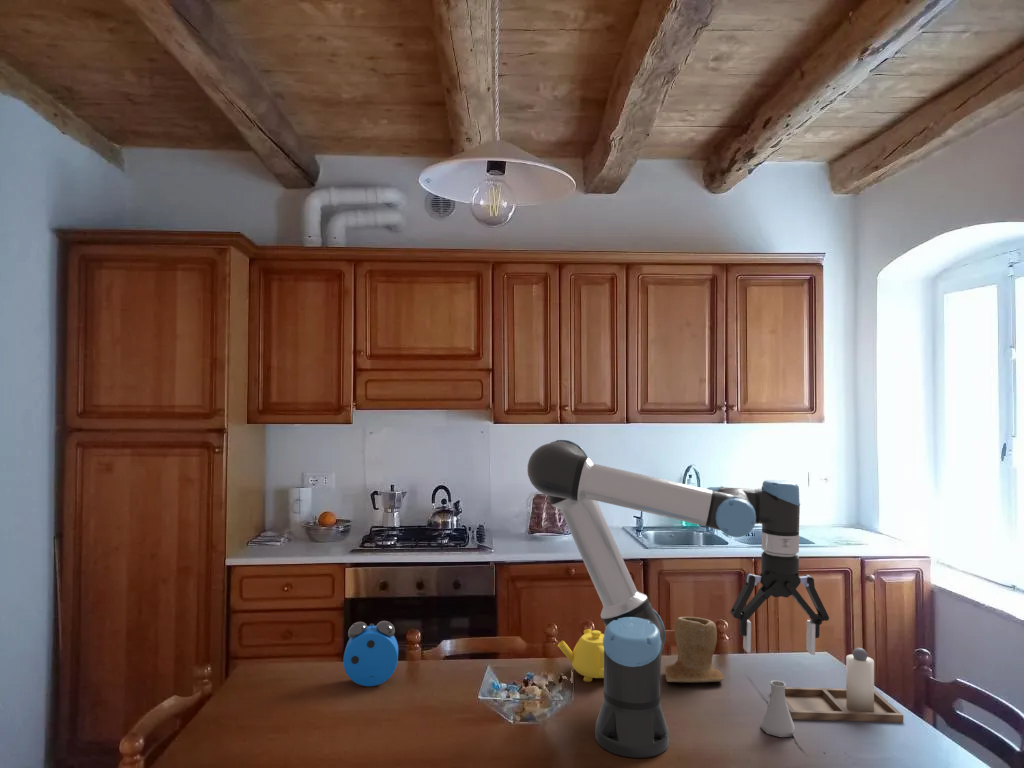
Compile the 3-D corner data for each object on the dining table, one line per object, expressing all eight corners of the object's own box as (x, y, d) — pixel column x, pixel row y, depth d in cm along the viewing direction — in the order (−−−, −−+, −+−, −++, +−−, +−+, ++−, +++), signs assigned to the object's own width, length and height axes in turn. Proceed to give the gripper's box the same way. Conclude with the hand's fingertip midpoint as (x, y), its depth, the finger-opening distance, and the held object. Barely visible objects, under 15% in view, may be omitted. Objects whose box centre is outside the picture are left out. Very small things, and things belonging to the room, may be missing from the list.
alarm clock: (398, 676, 172) (398, 616, 172) (397, 686, 166) (398, 624, 166) (345, 679, 170) (345, 618, 170) (342, 689, 164) (343, 627, 164)
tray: (791, 722, 149) (791, 712, 149) (771, 696, 162) (771, 686, 162) (903, 725, 148) (903, 715, 148) (874, 699, 161) (874, 689, 161)
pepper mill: (853, 713, 152) (853, 652, 152) (842, 701, 157) (842, 643, 158) (878, 713, 151) (878, 652, 152) (866, 702, 157) (866, 643, 157)
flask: (799, 740, 141) (799, 692, 141) (763, 736, 143) (763, 688, 143) (792, 724, 148) (792, 677, 148) (757, 720, 150) (757, 675, 150)
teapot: (586, 659, 184) (586, 618, 184) (631, 672, 175) (631, 629, 175) (555, 676, 172) (556, 632, 173) (602, 691, 164) (602, 645, 164)
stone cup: (712, 668, 178) (712, 611, 179) (728, 687, 166) (728, 626, 167) (655, 669, 177) (655, 611, 178) (667, 688, 166) (668, 627, 166)
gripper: (726, 555, 143) (725, 656, 143) (846, 558, 142) (845, 660, 142) (717, 547, 150) (715, 643, 150) (830, 550, 150) (829, 646, 149)
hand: (778, 651), depth 146 cm, fingers open, 13 cm apart
